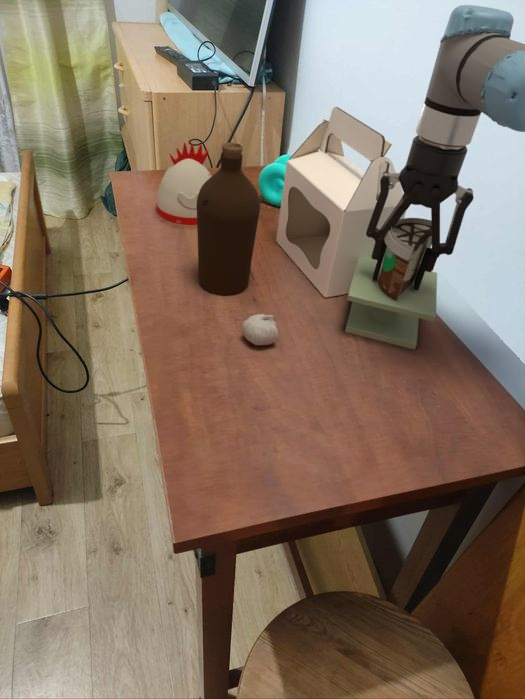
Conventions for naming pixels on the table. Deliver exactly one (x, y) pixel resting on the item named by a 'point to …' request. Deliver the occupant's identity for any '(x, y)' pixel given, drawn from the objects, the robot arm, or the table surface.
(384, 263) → the food container
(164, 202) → the kitchen timer
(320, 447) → the table surface
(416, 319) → the stand
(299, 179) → the gable box
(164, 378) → the table surface
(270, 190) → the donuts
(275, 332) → the garlic
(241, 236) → the olive oil
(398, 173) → the robot arm
